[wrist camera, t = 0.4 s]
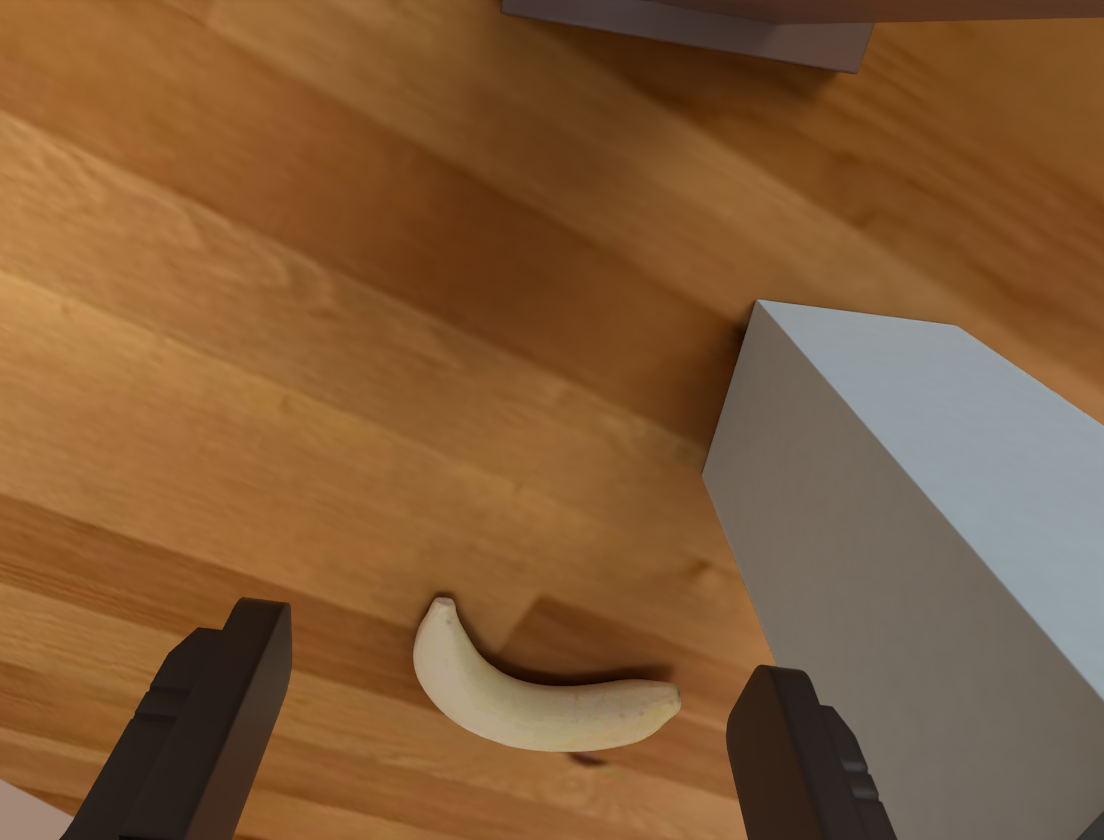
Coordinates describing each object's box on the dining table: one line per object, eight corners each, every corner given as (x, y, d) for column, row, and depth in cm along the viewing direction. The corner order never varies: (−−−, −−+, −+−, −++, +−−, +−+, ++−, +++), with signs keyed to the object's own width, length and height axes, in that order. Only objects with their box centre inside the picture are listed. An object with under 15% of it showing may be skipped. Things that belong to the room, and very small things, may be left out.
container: (750, 290, 28) (1183, 787, 10) (966, 319, 29) (1731, 818, 11) (693, 480, 32) (908, 1054, 14) (880, 499, 33) (1304, 1058, 15)
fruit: (619, 738, 42) (626, 789, 39) (390, 672, 38) (379, 723, 35) (680, 666, 39) (692, 716, 36) (437, 586, 35) (429, 635, 32)
